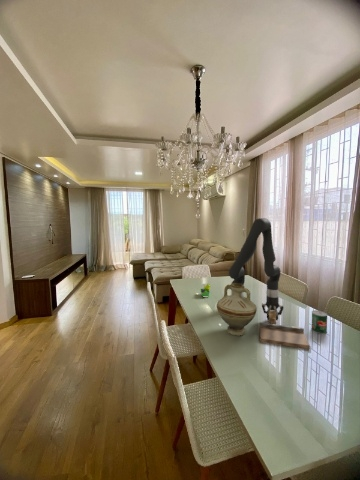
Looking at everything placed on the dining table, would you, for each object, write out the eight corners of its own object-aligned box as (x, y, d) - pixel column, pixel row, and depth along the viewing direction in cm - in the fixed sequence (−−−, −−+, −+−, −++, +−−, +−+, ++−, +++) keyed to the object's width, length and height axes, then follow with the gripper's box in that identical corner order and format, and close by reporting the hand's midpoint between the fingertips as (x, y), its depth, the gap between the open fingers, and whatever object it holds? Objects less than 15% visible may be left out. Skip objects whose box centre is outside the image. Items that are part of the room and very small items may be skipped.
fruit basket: (200, 293, 200) (200, 282, 199) (209, 293, 199) (209, 282, 198) (201, 298, 188) (201, 286, 187) (211, 298, 188) (210, 285, 187)
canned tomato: (323, 335, 123) (323, 317, 122) (308, 329, 130) (309, 312, 129) (329, 331, 127) (329, 313, 126) (315, 325, 134) (315, 309, 133)
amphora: (262, 341, 120) (266, 289, 119) (223, 342, 116) (226, 289, 115) (243, 324, 143) (246, 280, 143) (210, 324, 139) (212, 279, 139)
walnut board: (260, 341, 118) (260, 334, 118) (260, 328, 133) (260, 321, 133) (309, 349, 110) (309, 341, 110) (302, 333, 125) (303, 327, 125)
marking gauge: (269, 327, 134) (270, 316, 134) (268, 318, 145) (268, 309, 145) (276, 328, 133) (276, 317, 132) (275, 319, 144) (275, 309, 143)
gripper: (261, 296, 139) (261, 320, 141) (285, 298, 134) (284, 323, 136) (260, 292, 146) (260, 316, 148) (283, 294, 142) (283, 318, 143)
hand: (272, 319), depth 142 cm, fingers open, 4 cm apart
